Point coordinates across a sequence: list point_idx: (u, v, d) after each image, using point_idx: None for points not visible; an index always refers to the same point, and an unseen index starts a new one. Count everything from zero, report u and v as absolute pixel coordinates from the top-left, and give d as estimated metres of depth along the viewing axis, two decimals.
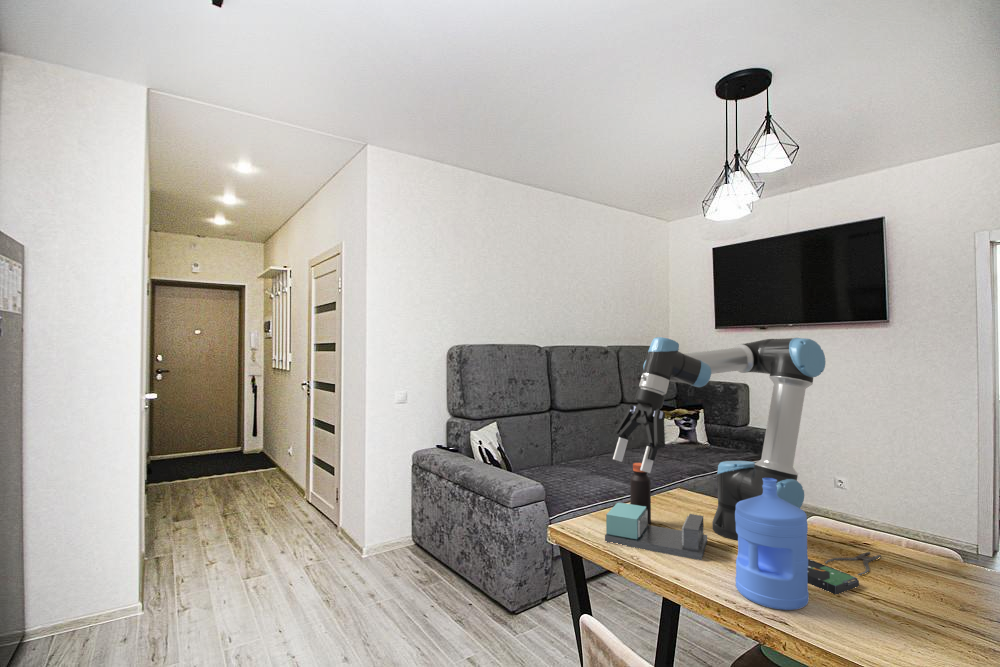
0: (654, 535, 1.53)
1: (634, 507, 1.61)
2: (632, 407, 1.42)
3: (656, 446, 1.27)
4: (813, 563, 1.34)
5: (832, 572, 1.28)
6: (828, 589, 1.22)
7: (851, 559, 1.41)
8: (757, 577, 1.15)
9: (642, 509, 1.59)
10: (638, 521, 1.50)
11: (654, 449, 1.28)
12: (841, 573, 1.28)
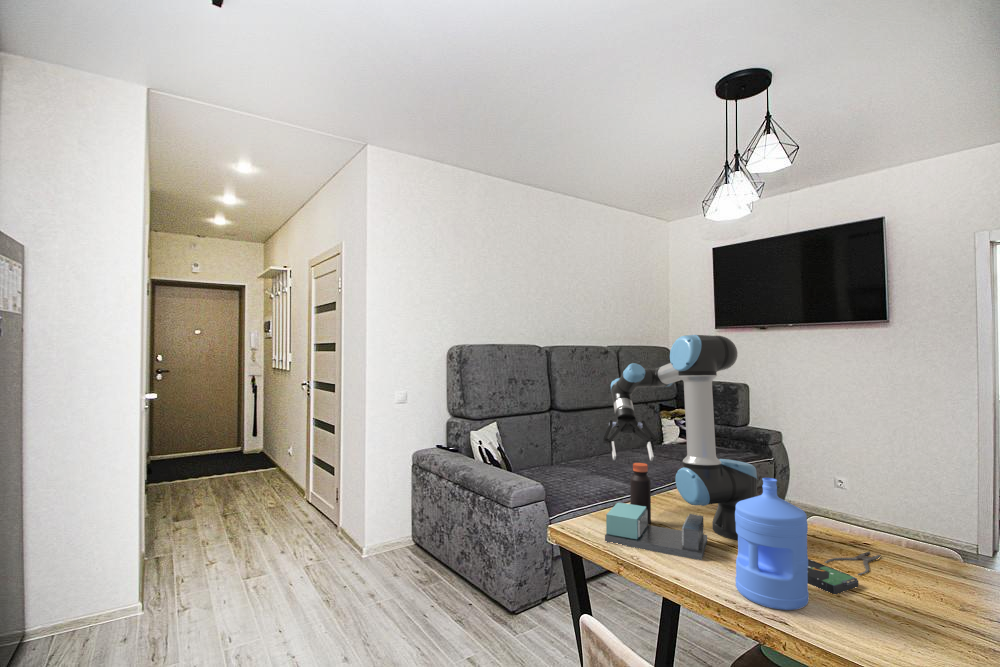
0: (654, 535, 1.53)
1: (634, 507, 1.61)
2: None
3: (605, 442, 1.87)
4: (813, 563, 1.34)
5: (831, 572, 1.28)
6: (827, 589, 1.22)
7: (851, 559, 1.41)
8: (757, 577, 1.15)
9: (642, 509, 1.59)
10: (638, 521, 1.50)
11: (608, 444, 1.86)
12: (841, 573, 1.27)
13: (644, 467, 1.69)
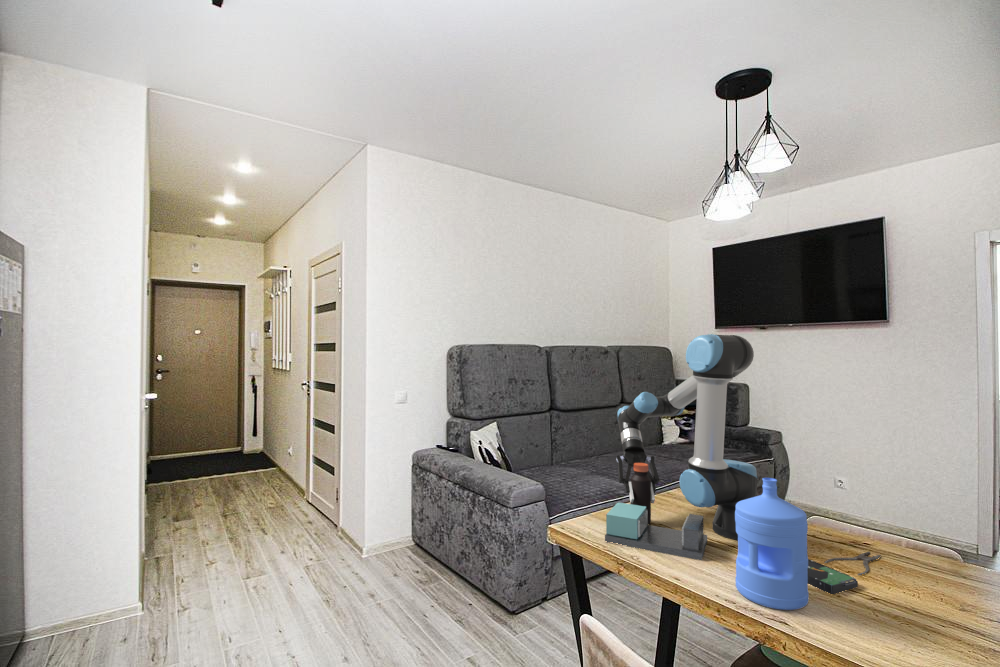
0: (654, 535, 1.53)
1: (634, 507, 1.61)
2: None
3: (621, 482, 1.73)
4: (813, 563, 1.34)
5: (831, 572, 1.28)
6: (824, 588, 1.22)
7: (851, 559, 1.41)
8: (757, 577, 1.15)
9: (642, 509, 1.59)
10: (638, 521, 1.50)
11: (624, 484, 1.72)
12: (840, 574, 1.27)
13: (645, 467, 1.69)
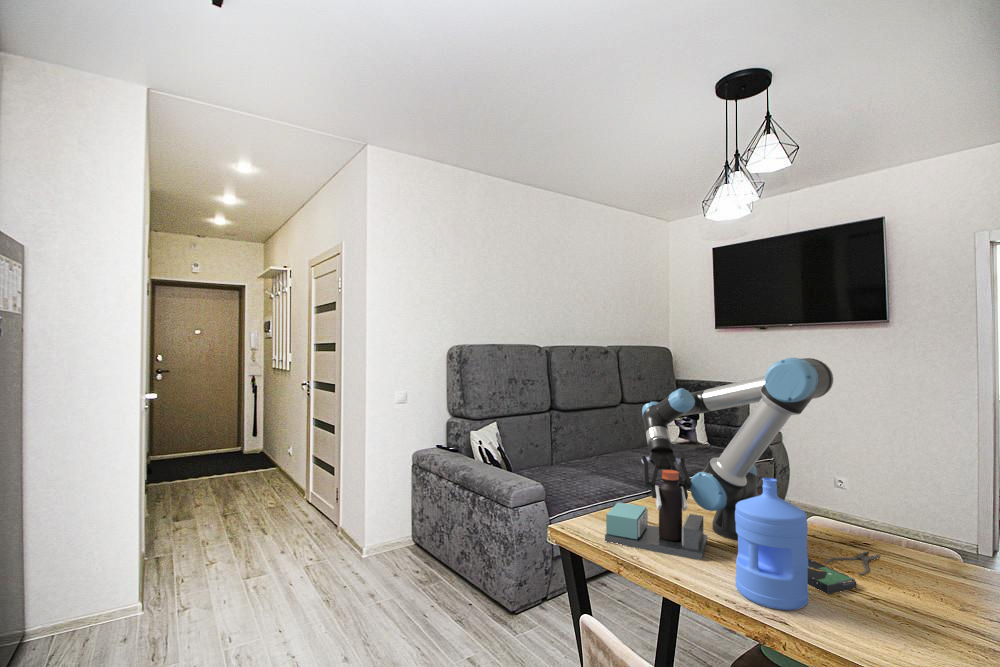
0: (654, 535, 1.53)
1: (634, 507, 1.61)
2: None
3: (647, 486, 1.54)
4: (813, 563, 1.34)
5: (829, 572, 1.28)
6: (821, 588, 1.22)
7: (850, 559, 1.41)
8: (757, 577, 1.15)
9: (642, 509, 1.59)
10: (638, 521, 1.50)
11: (650, 488, 1.53)
12: (839, 574, 1.27)
13: (675, 474, 1.50)
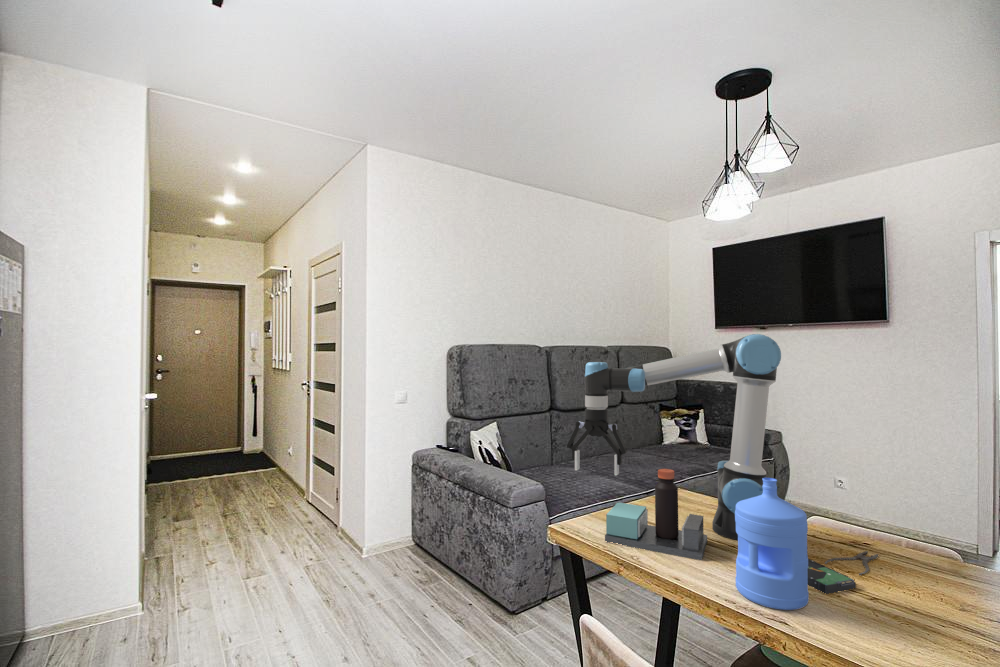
0: (654, 535, 1.53)
1: (634, 507, 1.61)
2: None
3: None
4: (813, 564, 1.34)
5: (829, 572, 1.28)
6: (819, 588, 1.22)
7: (850, 559, 1.41)
8: (757, 577, 1.15)
9: (642, 509, 1.59)
10: (638, 521, 1.50)
11: None
12: (839, 574, 1.27)
13: (670, 473, 1.52)
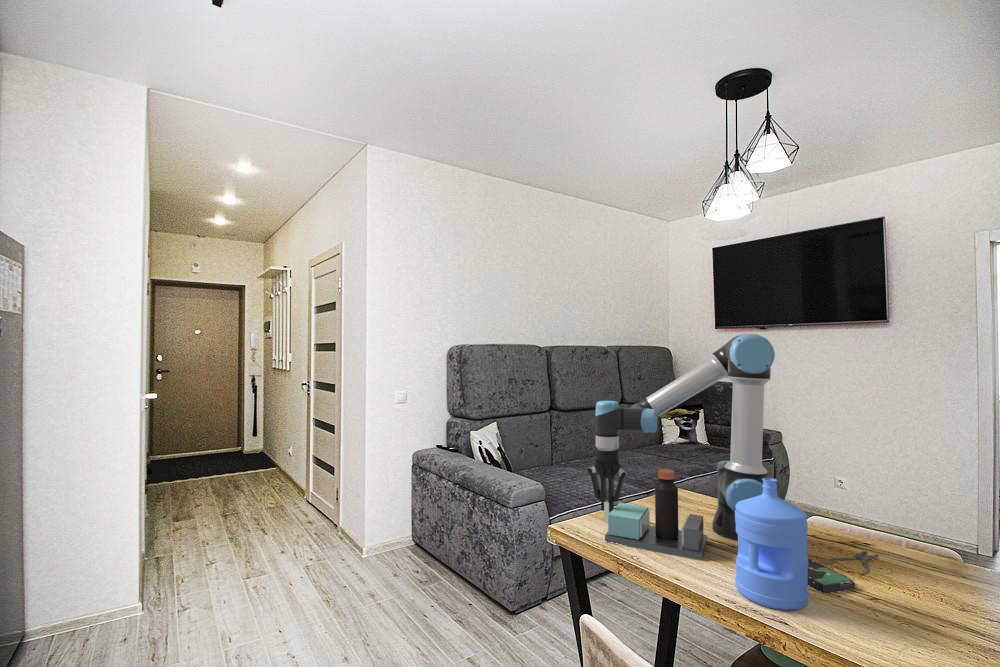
0: (654, 535, 1.53)
1: (636, 507, 1.61)
2: None
3: None
4: (814, 564, 1.34)
5: (828, 573, 1.28)
6: (817, 588, 1.23)
7: (850, 559, 1.41)
8: (757, 577, 1.15)
9: (644, 509, 1.59)
10: (640, 521, 1.50)
11: None
12: (838, 575, 1.27)
13: (670, 474, 1.51)
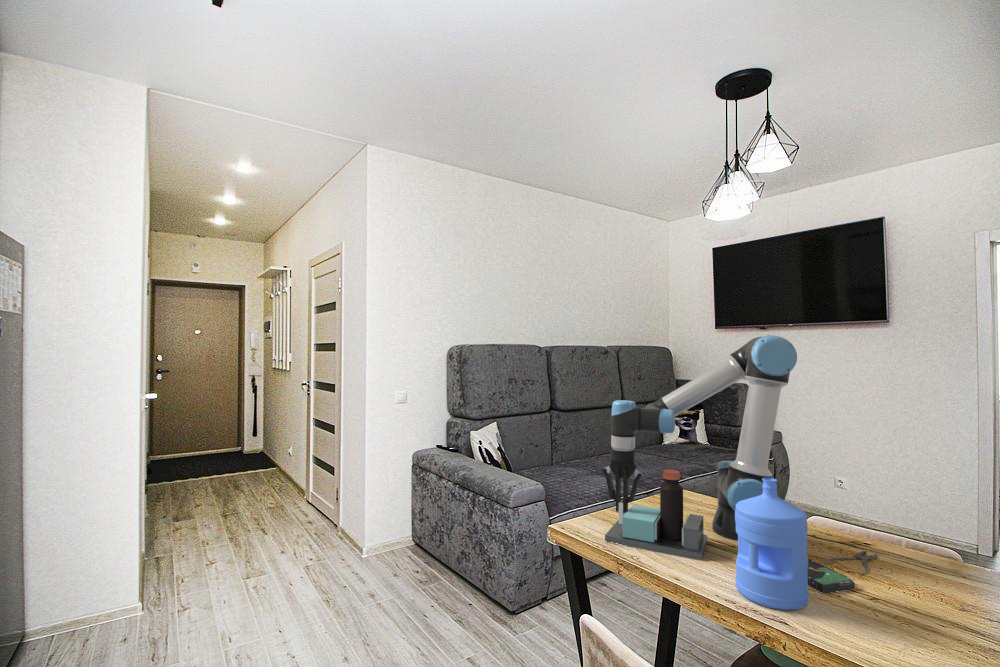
0: None
1: (650, 509, 1.59)
2: None
3: None
4: (813, 564, 1.34)
5: (828, 573, 1.28)
6: (817, 588, 1.23)
7: (850, 559, 1.41)
8: (757, 577, 1.15)
9: (658, 511, 1.57)
10: (655, 524, 1.48)
11: None
12: (838, 574, 1.27)
13: (676, 474, 1.51)
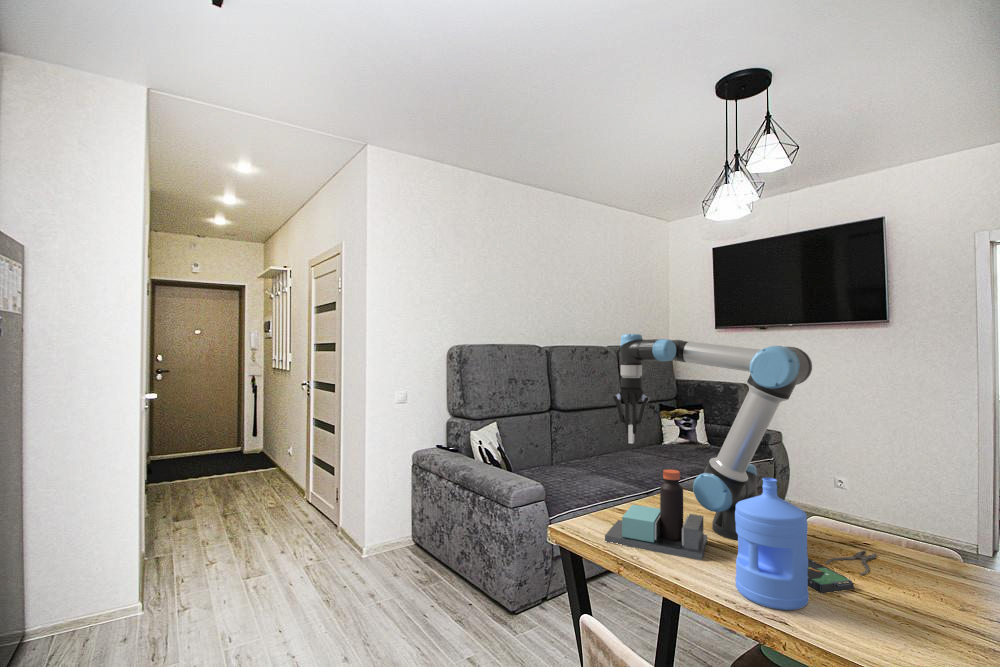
0: None
1: (649, 509, 1.59)
2: None
3: None
4: (814, 564, 1.34)
5: (827, 573, 1.28)
6: (814, 587, 1.23)
7: (849, 558, 1.41)
8: (757, 577, 1.15)
9: (658, 511, 1.57)
10: (655, 524, 1.48)
11: None
12: (837, 575, 1.27)
13: (676, 474, 1.51)
